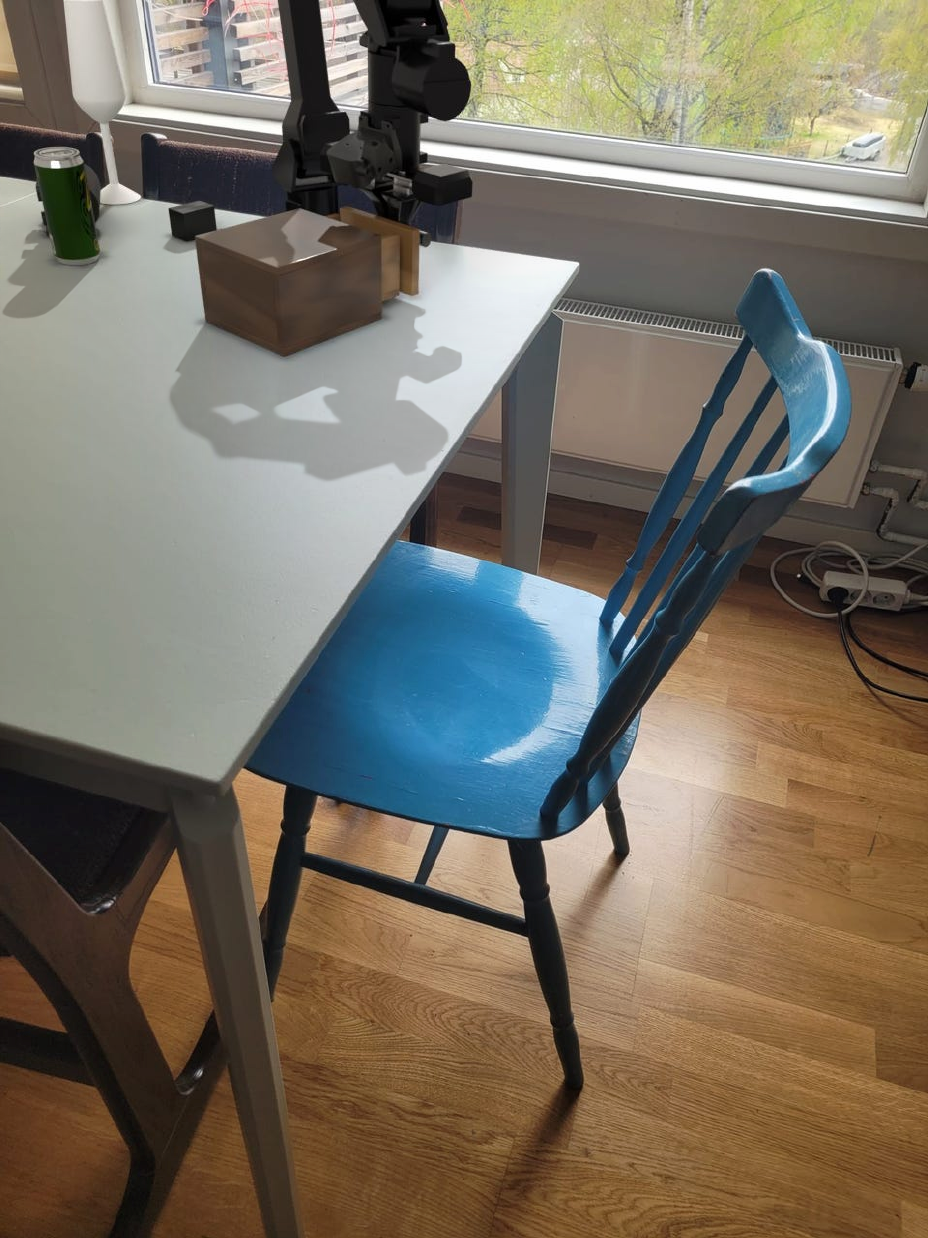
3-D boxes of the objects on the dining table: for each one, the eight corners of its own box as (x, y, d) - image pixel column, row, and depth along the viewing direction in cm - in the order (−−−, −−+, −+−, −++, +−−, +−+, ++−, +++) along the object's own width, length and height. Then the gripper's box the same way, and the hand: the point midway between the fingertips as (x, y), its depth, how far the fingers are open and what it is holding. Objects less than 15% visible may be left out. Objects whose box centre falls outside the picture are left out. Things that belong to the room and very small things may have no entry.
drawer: (374, 259, 119) (374, 197, 115) (444, 284, 114) (446, 220, 110) (263, 296, 108) (258, 229, 104) (335, 325, 103) (332, 256, 98)
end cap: (104, 236, 124) (94, 180, 120) (46, 238, 122) (33, 181, 118) (105, 212, 131) (95, 159, 127) (50, 214, 129) (38, 160, 125)
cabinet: (304, 288, 113) (299, 207, 108) (382, 318, 107) (381, 235, 102) (205, 321, 104) (194, 235, 99) (284, 356, 98) (277, 267, 93)
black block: (202, 227, 128) (199, 200, 126) (217, 233, 127) (214, 205, 125) (172, 235, 125) (168, 207, 123) (186, 241, 124) (182, 213, 122)
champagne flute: (124, 206, 134) (90, 3, 118) (82, 200, 135) (43, -2, 120) (150, 194, 139) (121, -3, 123) (109, 188, 140) (75, -8, 125)
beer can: (62, 268, 114) (38, 160, 107) (49, 254, 118) (26, 148, 110) (107, 262, 117) (87, 155, 109) (93, 248, 120) (73, 144, 112)
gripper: (279, 94, 103) (288, 243, 113) (407, 127, 94) (405, 286, 104) (353, 83, 110) (356, 224, 119) (479, 113, 101) (471, 263, 111)
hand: (393, 248), depth 113 cm, fingers closed, pressing on drawer
